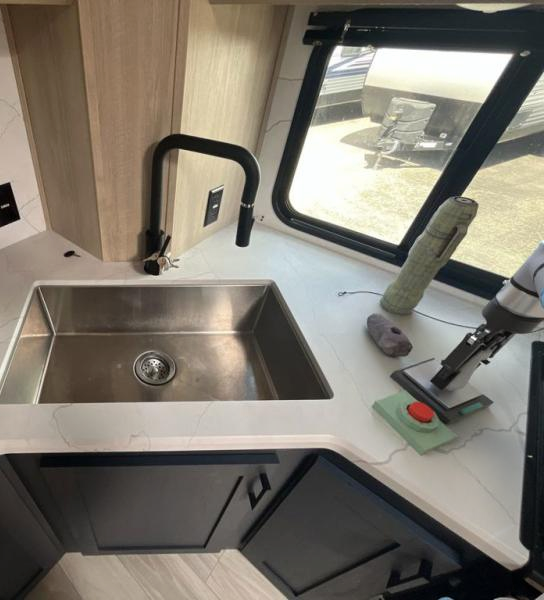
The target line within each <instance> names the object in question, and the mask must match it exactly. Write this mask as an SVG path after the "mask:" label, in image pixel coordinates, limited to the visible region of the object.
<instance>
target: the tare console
mask: <svg viewBox="0 0 544 600" xmlns="http://www.w3.org/2000/svg"><path fill="white" fill-rule="evenodd" d="M413 402H419V401H417V400H416V399H415V398H414V397H413V396H411V395H410V394H409V393H408V392H407V391H406V390H405V389H403V390H402V391H401V390H400V391H399V392H396V393H394V394H393V393H392V394H390V395H389V396H386V397H383V398H380V399H377V400H375V401H374V402H373V404H372V405H371V408H372V409H373V410H374V411H375V412H377V414H379V415H380V416H381V417H382V418H383V419H384V420H385V422H387V423H388V424H389V426H390V427H392V429H394V430H395V431H396V432H397V433H398V434H399V435H400V437H402V439H404V441H406V442H407V444H408V445H410V446H411V448H412V449H414V451H416V453H418V454H419V455H420V456H423V455H425V454H427V453H430V452H431V451H434V450H436V449H438V448H440V447H443V446H445V445H447V444H449V443H451V442H453V441H454V440H455V439H456V438H458V435H457V434H456V433H454V432H453V431H452V430H451V429H450V428H449V427H448V426H447V425H445V424H444V423H442V422H441V421H440V420H439V419H438V417H437V415H436V413H435V412H434V411H433V412H434V417H433V418H432V419H431V420H430V421H429V422H427V423H422V422H419V421H417V420H415V419H414V418H413V417H411V416H410V415H409V413H408V407H409V406H410V405H411V404H412V403H413Z"/></svg>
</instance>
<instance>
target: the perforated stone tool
mask: <svg viewBox="0 0 544 600" xmlns="http://www.w3.org/2000/svg"><path fill="white" fill-rule="evenodd" d="M366 328H367V331H368V333H369V334H370V336H371V337H372V340H374V342H375V344H376V346H378V347H379V348H380V349H381V350H382V351H383V352H384V354H385V355H388V356H394V357H397V358H403V357H407V356H408V355H410V354H411V352H412V350H413V348H414V346H413V344H412V342H411V340H410V339H409V338H408V336H407V335H406V334H405V332H404V331H403V330H402V329H401V328H399V327H398V326H397V325H396V324H395V323H394V322H392V320H390V319H388V318H387V317H385V316H384V315H382V314H379V313H376V312H375V313H371V314H370V315H368V316H367V318H366Z"/></svg>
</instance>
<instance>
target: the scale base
mask: <svg viewBox="0 0 544 600" xmlns="http://www.w3.org/2000/svg"><path fill="white" fill-rule="evenodd" d="M435 359H436V358H435V357H431V358H429V359H426V360H422V361H420V362H417V363H414V364H411V365H407V366H406V367H403V368H400V369H397V370H393V372H392V373H391V374H390V376H389V377H390V379H392V380H393V381H394V382H395V383H397V384H398V386H400V387H401V388H402V389H403V390H405V391H406V392H407V393H409V394H410V395H411V396H412V397H413V398H414V399H415V400H417V401H419V402H421V403H424V404H426V405H427V406H429V407H430V408H431V409H432V410H433V411H434V412H435V413H436V415H437V417H438V419H439V420H440V421H441V422H442V423H443V424H444V425H445V426H448V425H450V424H452V423H455V422H457V421H459V420H462V419H464V418H466V417H469V416H471V415H473V414H476V413H478V412H480V411H483V410H485V409H487V408H489V407H490V406H492V405H493V404H494V403H495V402H494V401H493V400H492V399H490V398H489V397H488V396H487V395H485V394H484V393H482V394H483V395H482V396H480V397H478V398H475V399H473V400H470V401H468V402H466V403H463V404H461V405H458V406H456V407H453V408H451V409H449V410H447V409H446V408H445V407H443V406H442V405H441V404H440V403H439V402H437V401H436V400H435V399H434V398H433V397H431V396H430V395H429V394H428V393H427V392H425V391H424V390H423V389H422V388H421V387H419V386H418V385H417V384H416V383H415V382H413V381H412V380H411V379H410V378H409V377H407V376H406V375H405V374H404V373H403V371H404V370H406V369H409V368H412V367H415V366H418V365H421V364H423V363H426V362H429V361H432V360H435Z"/></svg>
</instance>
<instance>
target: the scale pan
mask: <svg viewBox="0 0 544 600" xmlns="http://www.w3.org/2000/svg"><path fill="white" fill-rule="evenodd" d="M439 366H441V361H440V360H438V359H437V358H435V360H432V361H429V362H426V363H423V364H421V365H418V366H415V367H412V368H409V369H406V370H404V371H403V373H404V374H405V375H406V376H407V377H409V378H410V379H411V380H412V381H413V382H415V383H416V384H417V385H418V386H419V387H421V388H422V389H423V390H424V391H425V392H427V393H428V394H429V395H430V396H431V397H433V398H434V399H435V400H436V401H437V402H439V403H440V404H441V405H442V406H443V407H445V408H446V409H447V410H449V409H451V408H453V407H456V406H458V405H461V404H463V403H466V402H468V401H470V400H473V399H475V398H478V397H480V396H482V395H483V394H484V393H482V392H481V391H480V390H479V389H477V388H476V387H475V386H473V385H472V384H470V383H469V381H468V382H467V384H466V385H465V387H463V388H460V389H456V390H453V391H449V390H446V389H443V390H440V389H439V388H438V387H436V386H435V385H434V384H433V383H431V382H430V380H431V379H432V378H433V377H434V376H435V373H434V372H435V370H436V369H437V368H438V367H439Z"/></svg>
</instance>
